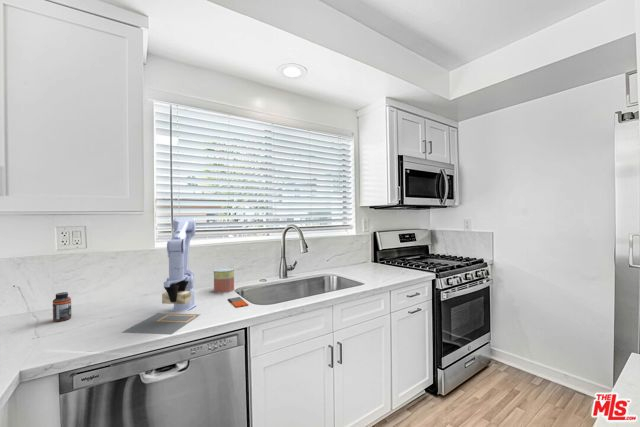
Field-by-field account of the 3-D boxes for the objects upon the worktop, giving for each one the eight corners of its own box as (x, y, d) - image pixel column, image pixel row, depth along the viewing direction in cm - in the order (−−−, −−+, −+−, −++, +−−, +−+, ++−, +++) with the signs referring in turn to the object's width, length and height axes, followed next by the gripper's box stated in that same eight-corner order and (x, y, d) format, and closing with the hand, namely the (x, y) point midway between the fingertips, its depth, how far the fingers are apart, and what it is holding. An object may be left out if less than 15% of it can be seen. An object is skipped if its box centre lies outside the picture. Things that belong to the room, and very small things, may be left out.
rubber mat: (157, 314, 132) (157, 312, 132) (200, 315, 129) (200, 314, 129) (121, 333, 111) (121, 332, 111) (171, 335, 109) (171, 334, 109)
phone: (235, 306, 140) (227, 298, 152) (235, 309, 140) (227, 301, 152) (249, 303, 143) (239, 296, 156) (249, 306, 143) (239, 298, 156)
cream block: (190, 300, 126) (190, 291, 126) (185, 304, 122) (185, 294, 122) (168, 300, 127) (168, 290, 127) (162, 303, 123) (162, 293, 123)
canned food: (218, 287, 177) (218, 267, 177) (236, 287, 177) (236, 267, 177) (210, 292, 166) (210, 271, 166) (230, 292, 166) (230, 271, 166)
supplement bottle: (53, 319, 127) (52, 293, 126) (71, 316, 130) (71, 290, 130) (52, 323, 122) (52, 296, 122) (71, 319, 126) (71, 293, 126)
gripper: (177, 264, 132) (178, 294, 132) (156, 271, 118) (156, 305, 118) (192, 264, 131) (193, 295, 132) (172, 271, 117) (173, 305, 117)
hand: (176, 300), depth 125 cm, fingers closed on cream block, 4 cm apart
